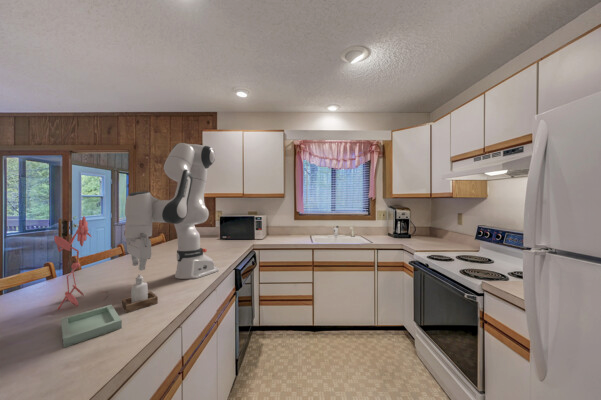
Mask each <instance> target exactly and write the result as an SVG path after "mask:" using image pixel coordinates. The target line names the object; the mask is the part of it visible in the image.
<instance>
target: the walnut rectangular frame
mask: <svg viewBox="0 0 601 400" xmlns="http://www.w3.org/2000/svg"><path fill="white" fill-rule="evenodd" d="M158 300H159V299H158V296H157V294H155V293H154V292H153V291H148V299H146V300H142V301H139V302H135V303H132V304H131V296H130V297H129V296H128V297H126V298H122V299H121V308H122V309H123V310H124V311H125V313H129V312H132V311H133V312H134V311H137V310H140V309H143V308H146V307H149V306H152V305H156V304H158V302H159V301H158Z"/></svg>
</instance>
